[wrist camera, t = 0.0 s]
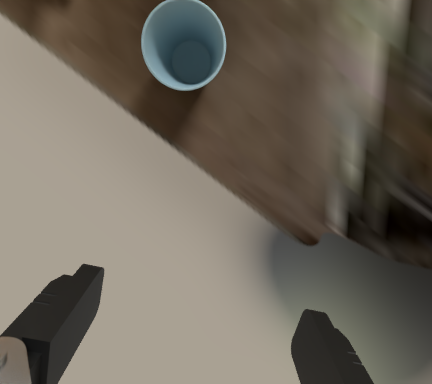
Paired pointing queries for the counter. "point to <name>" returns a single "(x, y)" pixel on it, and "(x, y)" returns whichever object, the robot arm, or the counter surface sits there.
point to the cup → (183, 44)
